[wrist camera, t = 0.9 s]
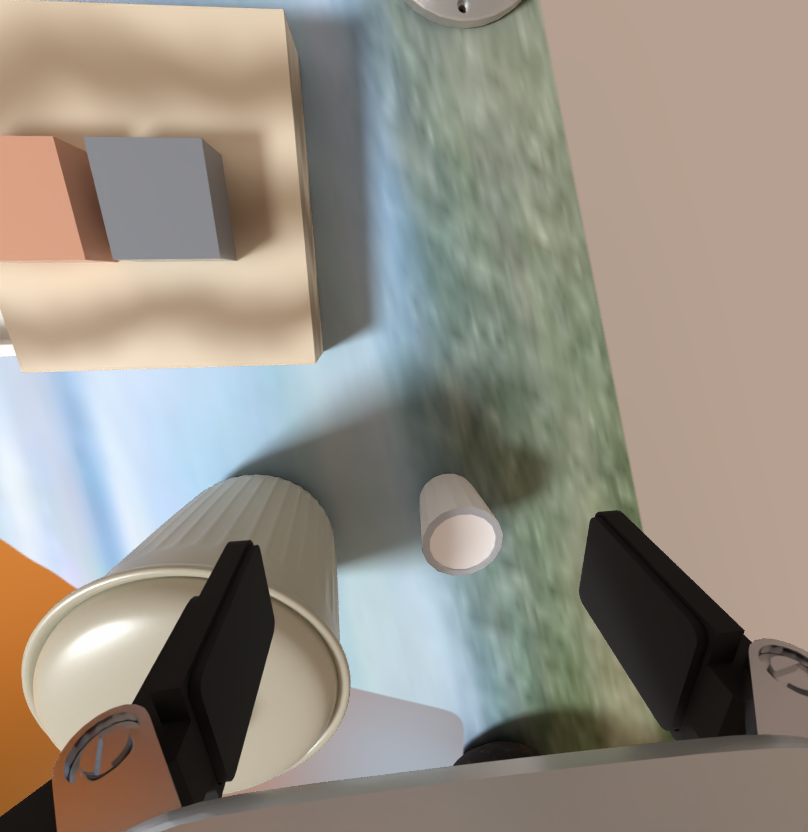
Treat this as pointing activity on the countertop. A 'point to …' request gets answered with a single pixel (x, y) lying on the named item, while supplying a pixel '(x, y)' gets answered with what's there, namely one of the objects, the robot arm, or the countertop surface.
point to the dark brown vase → (496, 753)
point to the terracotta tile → (49, 204)
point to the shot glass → (457, 526)
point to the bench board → (167, 118)
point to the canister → (167, 598)
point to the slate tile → (162, 198)
